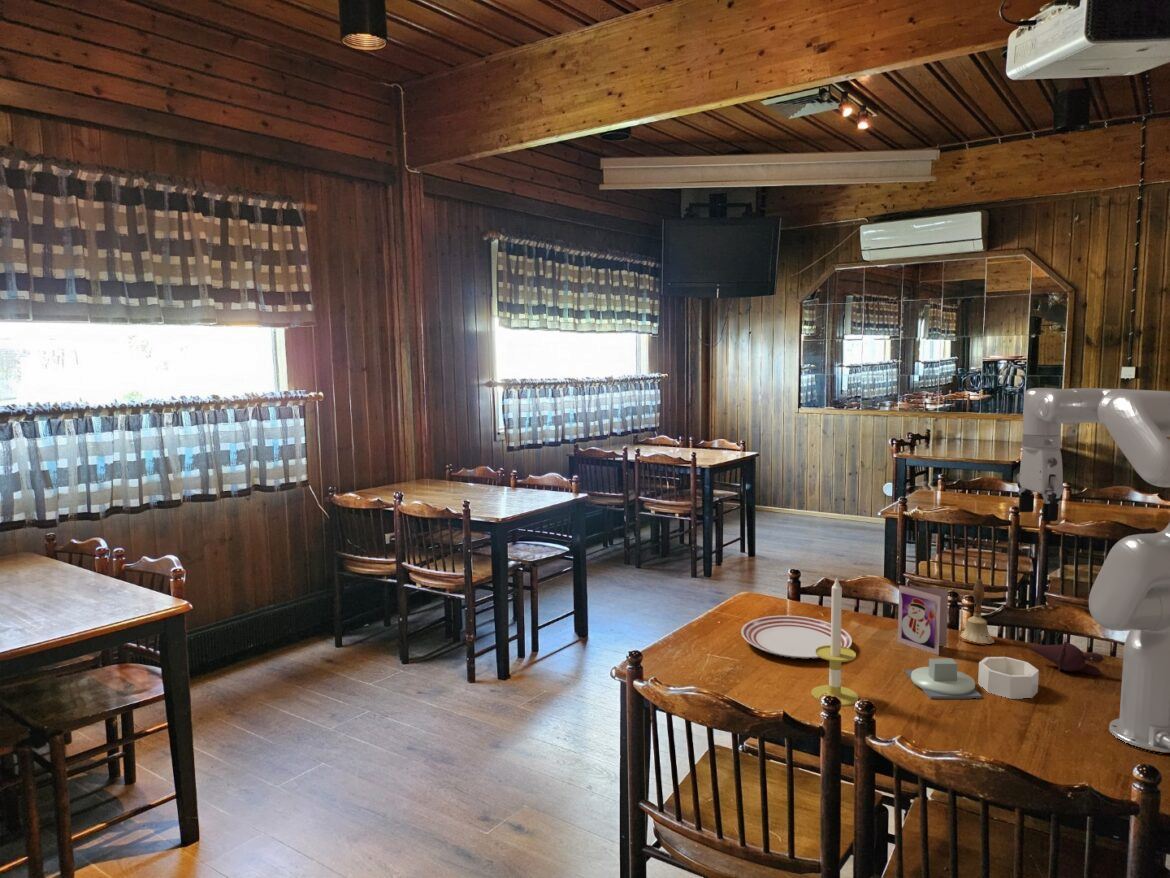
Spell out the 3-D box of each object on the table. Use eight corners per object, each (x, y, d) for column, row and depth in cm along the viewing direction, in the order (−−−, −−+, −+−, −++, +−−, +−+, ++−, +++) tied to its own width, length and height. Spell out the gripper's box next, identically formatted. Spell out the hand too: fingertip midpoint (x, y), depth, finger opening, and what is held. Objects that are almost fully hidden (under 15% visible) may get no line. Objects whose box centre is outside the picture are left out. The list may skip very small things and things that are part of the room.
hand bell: (963, 631, 208) (965, 573, 206) (997, 638, 203) (1000, 578, 201) (954, 641, 202) (956, 580, 200) (990, 648, 197) (992, 586, 195)
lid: (985, 695, 169) (986, 672, 169) (924, 695, 170) (925, 673, 169) (958, 670, 182) (959, 649, 182) (902, 670, 182) (902, 650, 182)
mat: (982, 698, 169) (982, 695, 169) (930, 698, 169) (930, 696, 169) (952, 671, 183) (952, 669, 183) (905, 672, 183) (905, 669, 183)
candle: (827, 709, 165) (830, 584, 162) (802, 689, 175) (803, 572, 172) (868, 702, 168) (871, 580, 165) (841, 683, 178) (843, 567, 175)
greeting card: (895, 642, 201) (897, 586, 200) (912, 636, 205) (914, 580, 204) (936, 656, 192) (938, 597, 190) (954, 650, 196) (956, 591, 194)
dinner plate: (876, 656, 194) (876, 643, 193) (783, 674, 184) (783, 661, 183) (805, 621, 219) (806, 609, 219) (721, 636, 209) (721, 624, 209)
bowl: (1045, 698, 168) (1047, 676, 168) (995, 699, 168) (996, 676, 168) (1019, 677, 179) (1019, 656, 178) (971, 678, 179) (972, 657, 179)
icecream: (1026, 642, 183) (1102, 662, 174) (1032, 626, 189) (1106, 645, 180) (1023, 667, 186) (1098, 688, 177) (1029, 650, 191) (1102, 669, 182)
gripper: (1081, 446, 170) (1076, 524, 172) (1036, 437, 187) (1033, 508, 189) (1046, 447, 170) (1042, 524, 172) (1004, 438, 187) (1001, 508, 189)
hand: (1037, 516), depth 180 cm, fingers open, 9 cm apart
